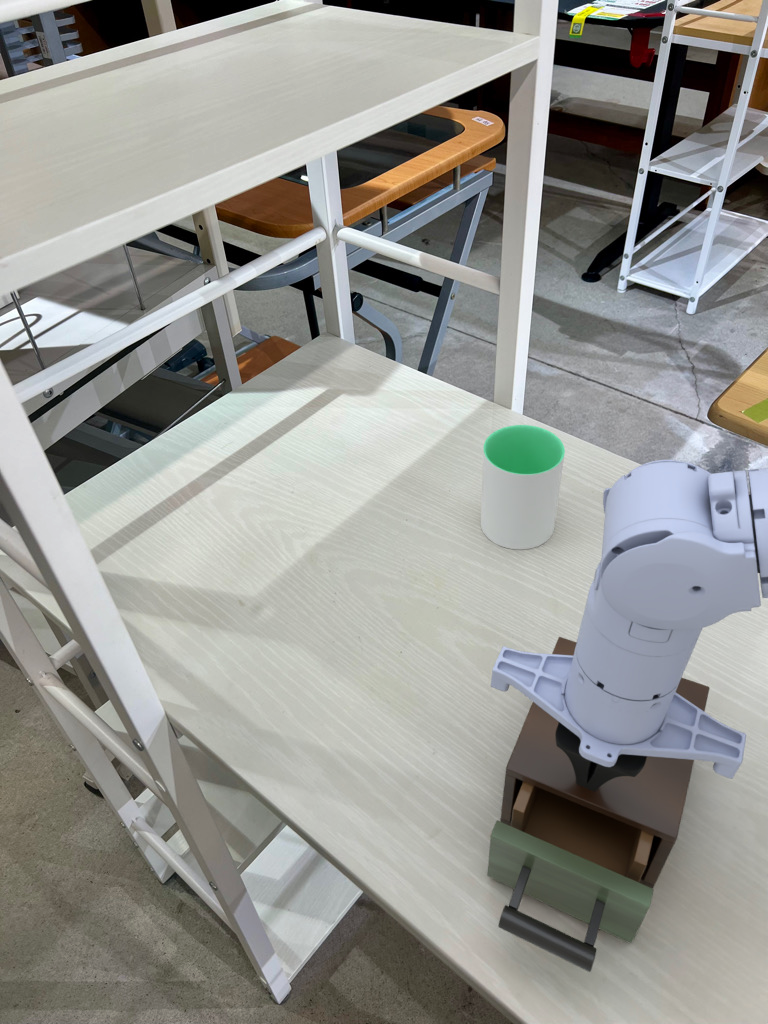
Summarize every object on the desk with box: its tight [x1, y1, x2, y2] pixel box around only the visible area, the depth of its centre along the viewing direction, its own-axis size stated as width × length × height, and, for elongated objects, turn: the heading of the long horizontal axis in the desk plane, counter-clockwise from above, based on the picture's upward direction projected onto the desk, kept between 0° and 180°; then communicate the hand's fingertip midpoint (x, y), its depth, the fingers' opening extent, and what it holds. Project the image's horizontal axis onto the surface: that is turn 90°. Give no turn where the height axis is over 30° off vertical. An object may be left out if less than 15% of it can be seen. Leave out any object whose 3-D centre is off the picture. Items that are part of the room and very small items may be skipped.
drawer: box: [486, 781, 654, 973], centre depth 52 cm, size 16×10×7 cm, turn 153°
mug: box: [480, 424, 566, 550], centre depth 80 cm, size 12×8×10 cm
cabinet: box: [499, 636, 711, 890], centre depth 57 cm, size 13×12×9 cm
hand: (589, 775), depth 50 cm, fingers closed
